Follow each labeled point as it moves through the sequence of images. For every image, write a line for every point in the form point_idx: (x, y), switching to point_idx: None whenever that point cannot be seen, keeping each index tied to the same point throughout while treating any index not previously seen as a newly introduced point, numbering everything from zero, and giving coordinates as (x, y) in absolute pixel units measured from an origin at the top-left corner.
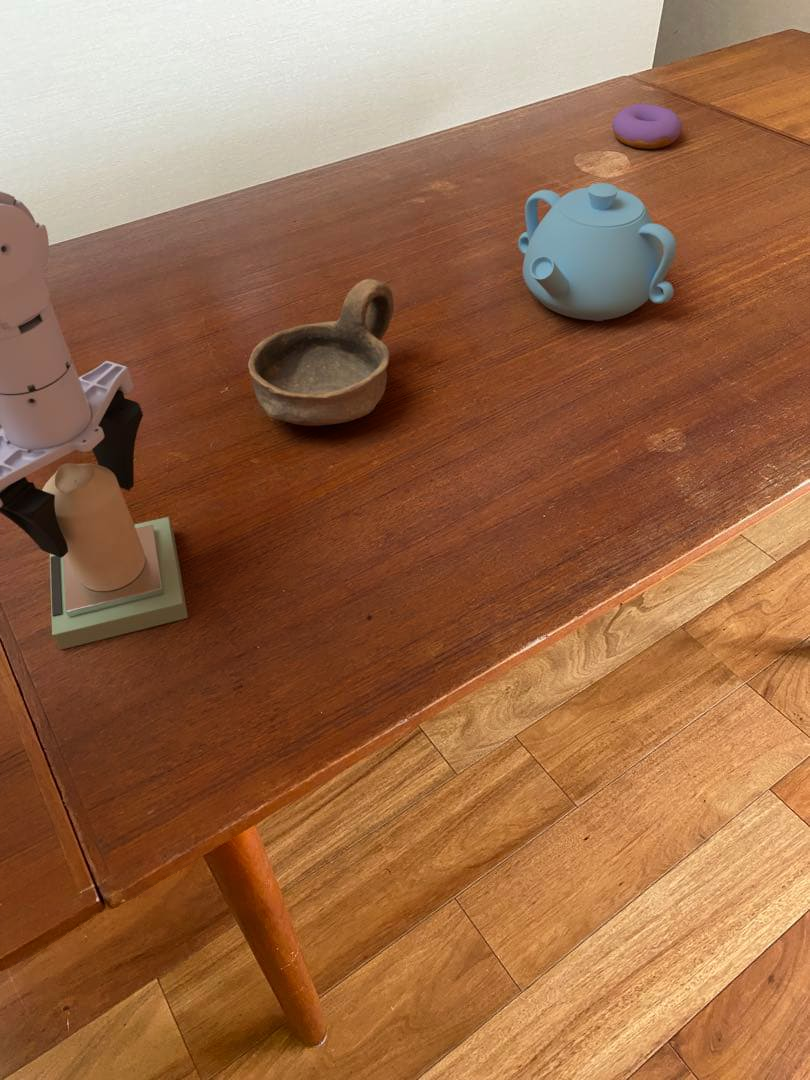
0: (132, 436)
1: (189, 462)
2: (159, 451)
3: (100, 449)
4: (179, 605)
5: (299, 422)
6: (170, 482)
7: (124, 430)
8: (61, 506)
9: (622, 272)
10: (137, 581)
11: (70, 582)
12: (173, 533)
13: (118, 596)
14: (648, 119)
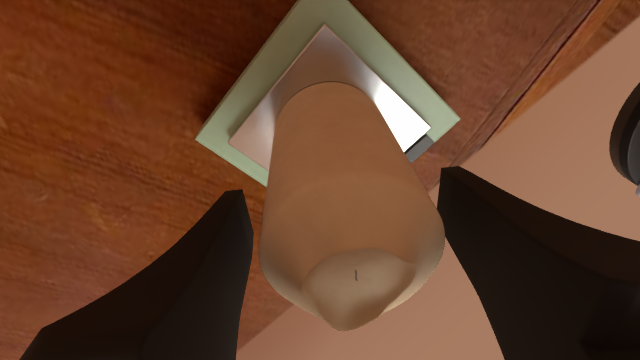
0: (145, 283)
1: (93, 198)
2: (115, 241)
3: (231, 304)
4: None
5: None
6: (140, 193)
7: (157, 325)
8: (434, 245)
9: None
10: (333, 75)
11: None
12: (206, 120)
13: (374, 79)
14: None
